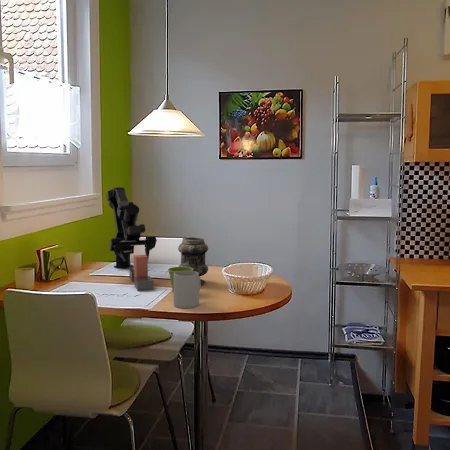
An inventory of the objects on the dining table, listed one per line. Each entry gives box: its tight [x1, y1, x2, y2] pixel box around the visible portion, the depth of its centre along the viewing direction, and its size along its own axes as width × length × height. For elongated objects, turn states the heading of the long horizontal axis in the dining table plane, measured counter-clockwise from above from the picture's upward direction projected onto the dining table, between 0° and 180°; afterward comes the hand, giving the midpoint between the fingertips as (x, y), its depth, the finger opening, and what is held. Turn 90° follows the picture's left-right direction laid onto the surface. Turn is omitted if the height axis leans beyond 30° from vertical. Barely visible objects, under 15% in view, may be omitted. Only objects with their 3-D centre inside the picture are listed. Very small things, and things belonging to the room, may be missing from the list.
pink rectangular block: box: [133, 254, 149, 284], centre depth 205 cm, size 4×4×11 cm
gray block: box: [128, 268, 154, 292], centre depth 205 cm, size 23×6×4 cm, turn 18°
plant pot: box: [167, 266, 193, 294], centre depth 192 cm, size 9×9×9 cm
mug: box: [173, 271, 202, 309], centre depth 176 cm, size 12×8×11 cm
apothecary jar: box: [177, 236, 209, 286], centre depth 205 cm, size 12×12×18 cm
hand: (136, 260), depth 210 cm, fingers open, 9 cm apart
